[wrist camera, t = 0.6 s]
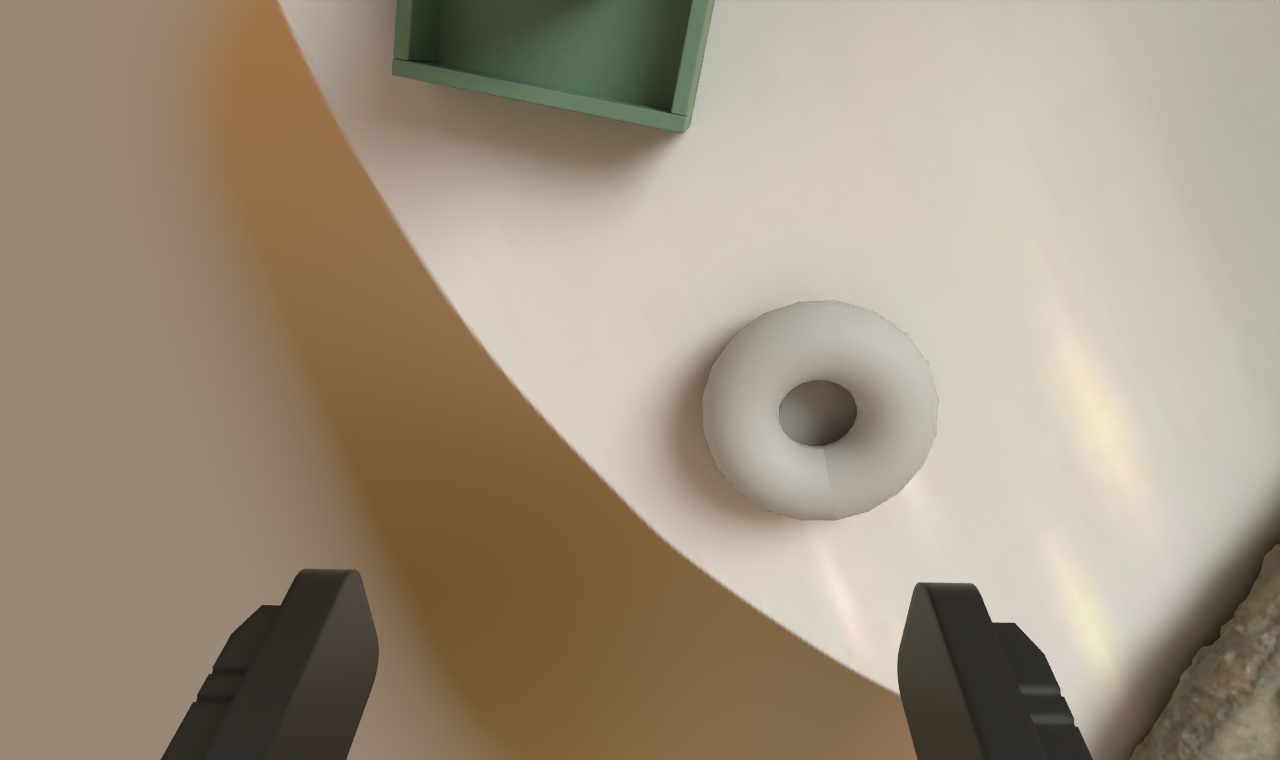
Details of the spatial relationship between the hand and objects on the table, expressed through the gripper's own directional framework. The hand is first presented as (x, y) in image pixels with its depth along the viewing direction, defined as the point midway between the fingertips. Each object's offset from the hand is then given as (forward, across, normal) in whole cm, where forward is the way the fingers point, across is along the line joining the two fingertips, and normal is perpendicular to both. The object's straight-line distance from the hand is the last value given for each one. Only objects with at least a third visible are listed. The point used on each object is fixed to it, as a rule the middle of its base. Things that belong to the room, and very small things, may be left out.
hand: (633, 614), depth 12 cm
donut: (+23, -7, +12) cm, 27 cm away
